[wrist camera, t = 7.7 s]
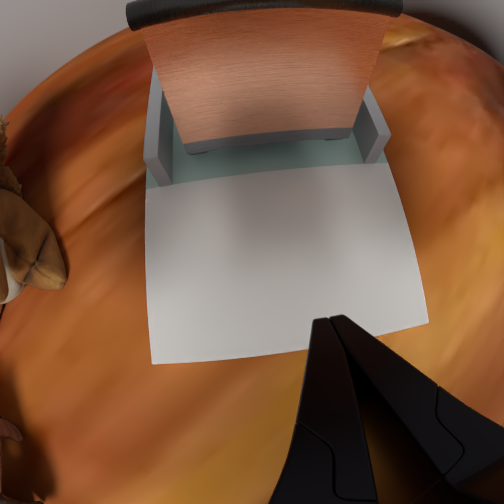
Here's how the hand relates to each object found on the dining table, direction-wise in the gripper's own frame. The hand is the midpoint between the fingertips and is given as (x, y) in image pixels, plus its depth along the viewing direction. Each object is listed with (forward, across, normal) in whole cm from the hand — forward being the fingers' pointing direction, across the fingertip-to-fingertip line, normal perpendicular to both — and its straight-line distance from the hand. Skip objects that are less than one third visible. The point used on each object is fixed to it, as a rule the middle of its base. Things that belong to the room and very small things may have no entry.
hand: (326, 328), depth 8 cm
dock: (+13, 0, -2) cm, 14 cm away
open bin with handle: (+15, 0, -6) cm, 16 cm away
